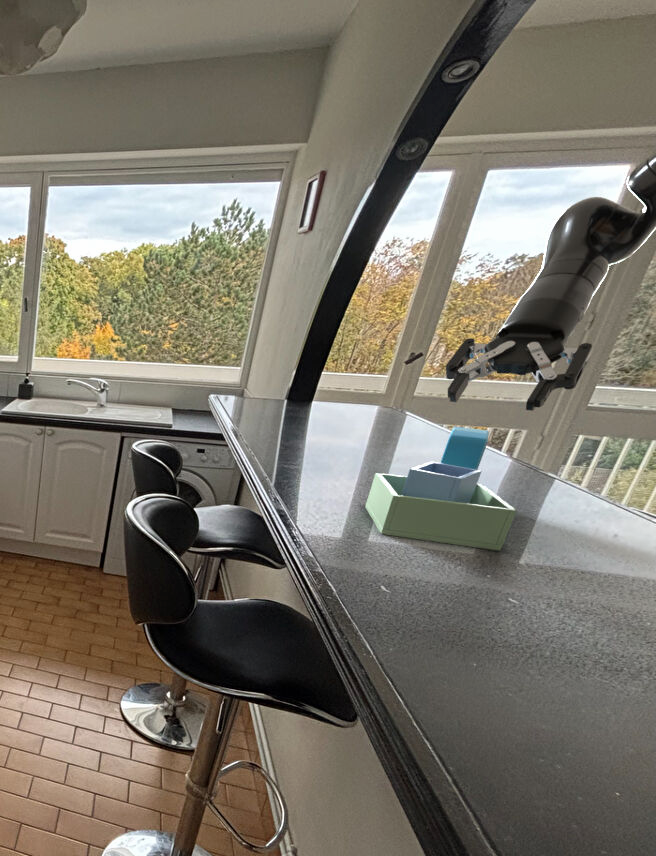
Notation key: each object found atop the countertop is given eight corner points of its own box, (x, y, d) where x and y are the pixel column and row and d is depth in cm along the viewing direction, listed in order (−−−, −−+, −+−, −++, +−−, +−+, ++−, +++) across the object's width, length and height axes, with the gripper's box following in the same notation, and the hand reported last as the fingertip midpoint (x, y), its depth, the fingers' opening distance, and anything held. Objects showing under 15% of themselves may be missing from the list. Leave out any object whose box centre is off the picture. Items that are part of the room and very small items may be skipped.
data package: (430, 493, 103) (454, 425, 99) (463, 499, 100) (489, 429, 96) (424, 509, 95) (449, 436, 90) (460, 516, 92) (488, 440, 88)
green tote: (469, 520, 90) (482, 484, 88) (500, 551, 79) (517, 510, 77) (365, 507, 96) (375, 472, 93) (380, 534, 84) (393, 495, 82)
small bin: (462, 522, 87) (481, 470, 84) (441, 533, 83) (461, 478, 80) (414, 511, 91) (431, 461, 88) (392, 520, 87) (409, 468, 84)
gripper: (482, 296, 88) (428, 379, 87) (620, 295, 77) (561, 390, 76) (482, 332, 93) (430, 412, 91) (612, 337, 82) (556, 427, 80)
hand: (489, 402), depth 83 cm, fingers open, 8 cm apart
